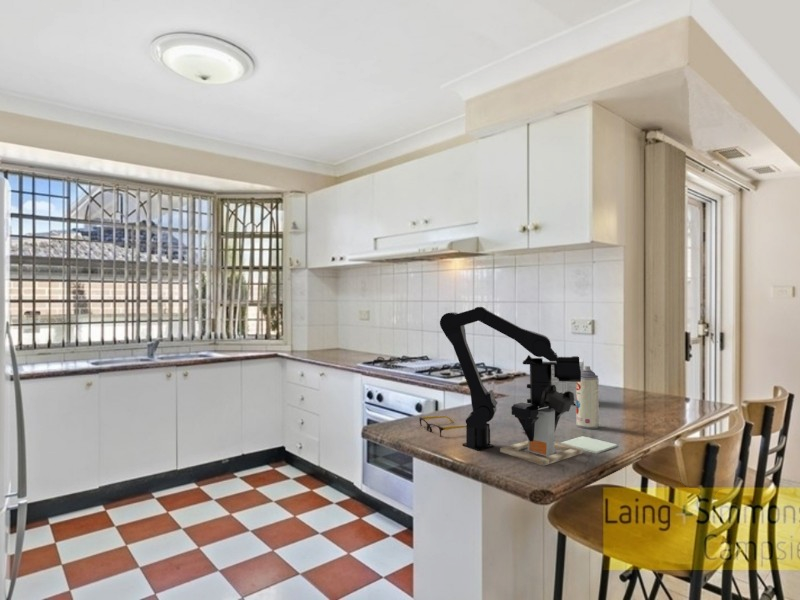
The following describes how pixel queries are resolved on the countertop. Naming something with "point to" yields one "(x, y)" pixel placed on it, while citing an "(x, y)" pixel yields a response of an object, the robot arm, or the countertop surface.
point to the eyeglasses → (438, 426)
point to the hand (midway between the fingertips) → (541, 438)
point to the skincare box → (543, 433)
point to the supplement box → (565, 386)
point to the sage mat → (590, 444)
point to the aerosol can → (587, 400)
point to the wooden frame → (566, 453)
